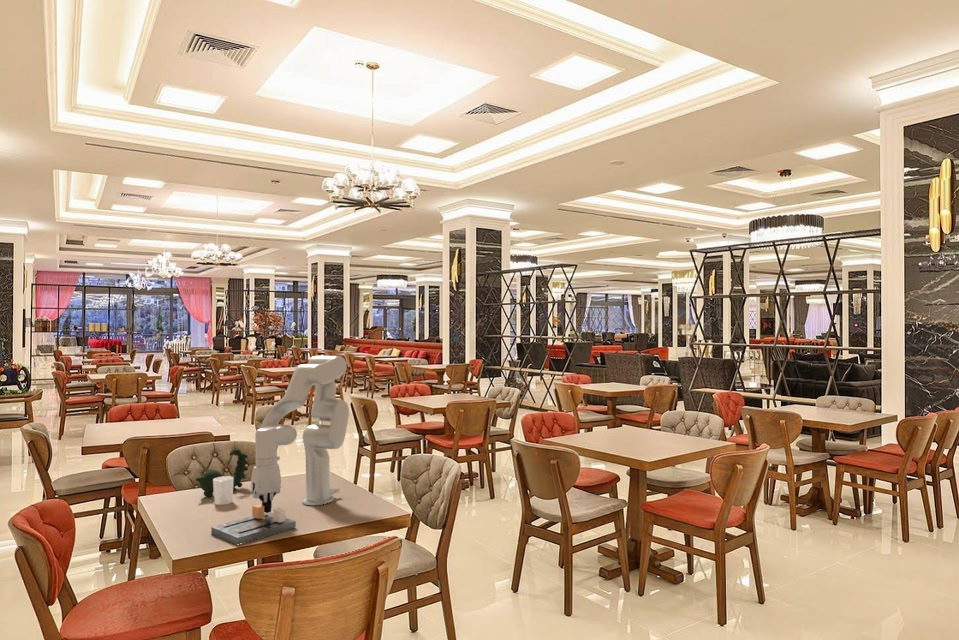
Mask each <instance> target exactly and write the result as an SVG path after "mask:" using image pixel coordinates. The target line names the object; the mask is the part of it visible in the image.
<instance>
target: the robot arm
mask: <svg viewBox="0 0 959 640" xmlns="http://www.w3.org/2000/svg"><path fill="white" fill-rule="evenodd" d="M346 370H347V361H346V359H345V358H344V357H342V355H341V356H340V355H314V356H311V357H310V358H309V359H308V362H307V363H303V364H299V365H297V366H296V368H294V372H293V374H292V376H291V379H290V381H289V383H288V386H287V389H286V391H285V393H284V395H283V397H282V398H281V399H279V401H277V402H276V403H275V404H274V405H273V406H272V407H271V408H270V409H269V410H268V411H267V412H266V415H265V416H264V419H263V421H262V423H261V426H260V428H259V429H256V431H255V433H254V434H255V438H254V439H255V442H254V443H255V466H253V468H252V472H251V477H250V478H251V481H250V493H252V499H259V500H260V502H261V505H262V506H264V513H268V512H270V513H272V508H273V507H272V503H273V502H272V501H273V500H274V497H275V496H276V495H278V494H279V493H281V488H282V477H281V469H280V466H279V463H278V461H280V460H281V458H280V456H279V455H278V447H279V446H289V445H292V444H293V443H294V442H295V441H296V440H297V436H298V432H297V429H296V428H295V427H293V426H292V425H289V424H280V421H281V420H282V419H283V418H284V417H285V416H286V415H288V414H289V413H291V412H293V411H296V410H298V409H300V408H302V407H304V405H305V404H306V402H307V399H308V397H309V395H310V394H309V393H310V392H311V390H312V387H313V386H315V391H314V396H313V401H312V407H311V417H312V419H314V420H315V421H317V422H326V423H328V422H329V423H330V424H323V423H322V424H321V423H318V424H317V423H314V424H310V425H308V426H306V427H305V428H304V430H303V432H302V441H303V442H302V443H303V446H304V455H305V497H304V498H302V500H301V503H302V504H304V505H306V506H321V505H322V506H323V504H324V505H327V503H328V504H330V502H331V503H333V501H334V500H335V497H334V496H333V495H334V494H338V493H340V490H341V489H340V488H339V487H336V488H332V487H331V479H330V478H331V477H330V476H331V474H330V470H331V469H330V455H329V452H328V450H338V449H340V448H341V447H342V446H343V444H344V442H345V440H346V434H347V427H348V424H349V418H350V407H349V405H348V403H347V402H346V400H344V399H341V398H336V394H337V384H336V382H335V380H337V379H339V378H341V376H343V375H344V374H345V372H346Z"/></svg>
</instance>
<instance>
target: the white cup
mask: <svg viewBox="0 0 959 640" xmlns="http://www.w3.org/2000/svg"><path fill="white" fill-rule="evenodd" d="M231 476H232V475H225V476H223V477H217V478H214V479H213V490H214V492H213V498H214V500H213V501H214V505H217V506H224V505H229V504H232V503H233V497H234V492H233V480H234V477H231Z"/></svg>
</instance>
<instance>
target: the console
mask: <svg viewBox="0 0 959 640" xmlns="http://www.w3.org/2000/svg"><path fill="white" fill-rule="evenodd" d="M296 525H297V524H296V520H293V519H291V518H288V517H286V521H283V522H280V523H278V522H276V521H274V520H273V512H268V513H266V512H264V517H263V518H260V519H256V518H255V517H252V515H251V516H248V517H244V518H240V519H237V520H233V521H229V522H225V523H221V524H217V525H214V526H211V527H210V528H211V532H210V534H211V535H212V536H214V537H217V538H220V539H222V540H224V541H226V542H229V543H231V542H232V543H231V544H233V543H235V544H234V545H236V544H240V543H244V542H247V541H251V540H254V541H256V540H255V539H258V538H261V539H263V538H262V537H264V538H267V537H266V536H268V537H270V536H269V535H271V536H273V535H272V534H274V535H277V534H276V533H278V534H280V533H279V532H281V533H283V532H282V531H284V532H286V531H285V530H288V531H290V530H289V529H291V530H293V529H292V528H294V529H296V528H295V527H297V526H296ZM258 540H259V539H258ZM251 542H252V541H251ZM244 544H245V543H244Z"/></svg>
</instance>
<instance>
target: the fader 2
mask: <svg viewBox="0 0 959 640" xmlns="http://www.w3.org/2000/svg"><path fill="white" fill-rule="evenodd" d="M272 511H273V512H272V513H273V520H274V521H276V522H278V523H280V522H283V521H286V518H287V517H286V509H285V508H282V507H276V508H273V510H272Z"/></svg>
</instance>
